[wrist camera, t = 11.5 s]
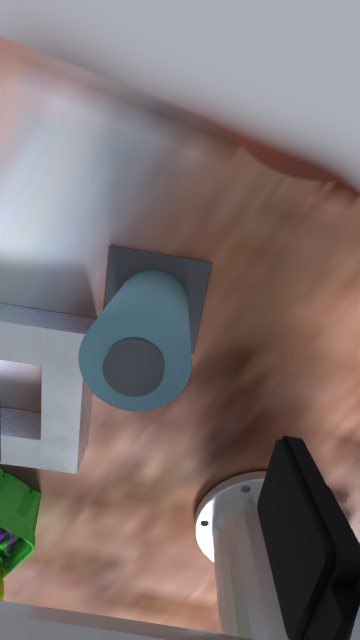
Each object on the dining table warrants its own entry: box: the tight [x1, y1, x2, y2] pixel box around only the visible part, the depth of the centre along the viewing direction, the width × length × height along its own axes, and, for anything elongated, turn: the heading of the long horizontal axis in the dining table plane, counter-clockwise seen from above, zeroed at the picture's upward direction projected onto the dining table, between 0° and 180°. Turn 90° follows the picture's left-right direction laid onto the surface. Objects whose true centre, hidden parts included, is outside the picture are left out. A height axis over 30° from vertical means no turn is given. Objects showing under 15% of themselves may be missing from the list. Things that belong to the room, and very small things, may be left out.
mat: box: [104, 245, 212, 354], centre depth 22 cm, size 7×7×1 cm
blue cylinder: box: [78, 269, 192, 411], centre depth 18 cm, size 5×5×10 cm
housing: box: [0, 304, 96, 474], centre depth 23 cm, size 12×12×3 cm
